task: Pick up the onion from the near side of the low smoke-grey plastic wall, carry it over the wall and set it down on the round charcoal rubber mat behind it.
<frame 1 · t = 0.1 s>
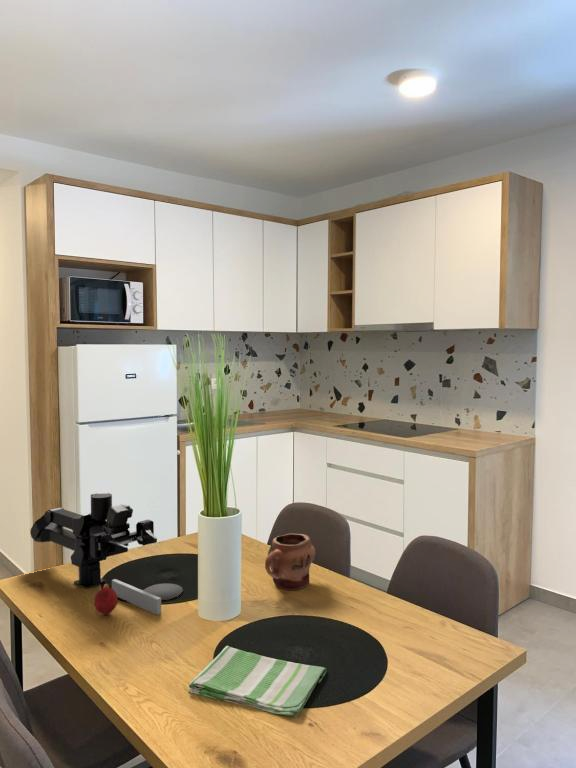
hand: (142, 545, 158), 17 cm above the table, tool horizontal, fingers open, 9 cm apart
dish towel: (258, 686, 123), on the table
brown clay mug: (288, 587, 173), on the table
onion: (106, 615, 154), on the table
rubber mat: (162, 592, 168), on the table
low wall: (135, 603, 161), on the table
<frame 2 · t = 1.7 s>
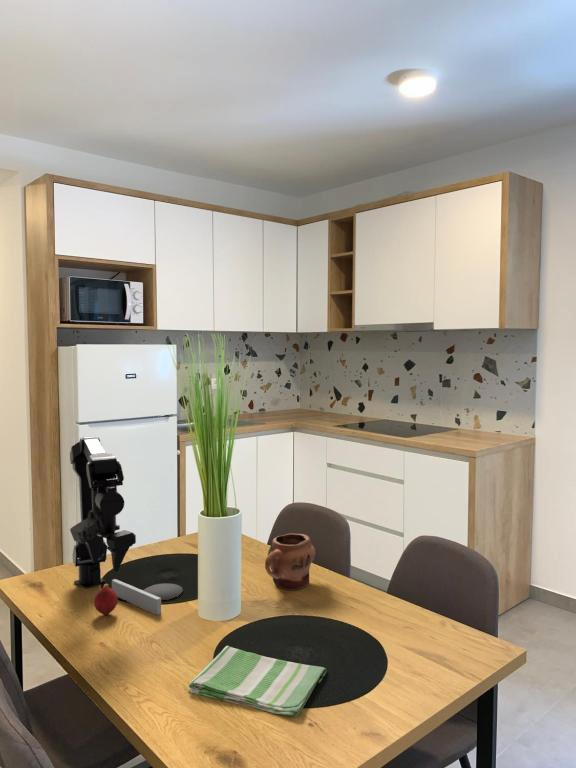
hand: (105, 566, 154), 12 cm above the table, tool pointing down, fingers open, 9 cm apart
nothing on the table moved.
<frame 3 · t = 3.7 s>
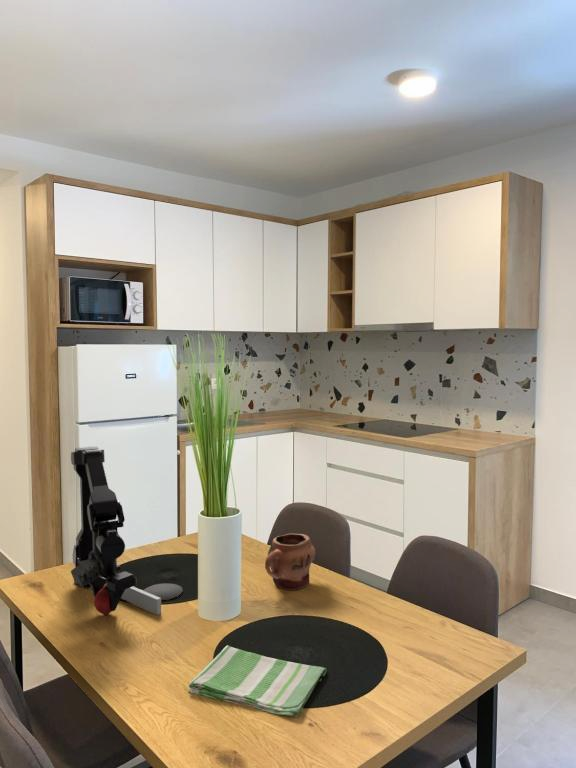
hand: (106, 607, 154), 2 cm above the table, tool pointing down, fingers closed on onion, 6 cm apart
onion: (106, 615, 154), on the table, touching gripper
everything else where it was.
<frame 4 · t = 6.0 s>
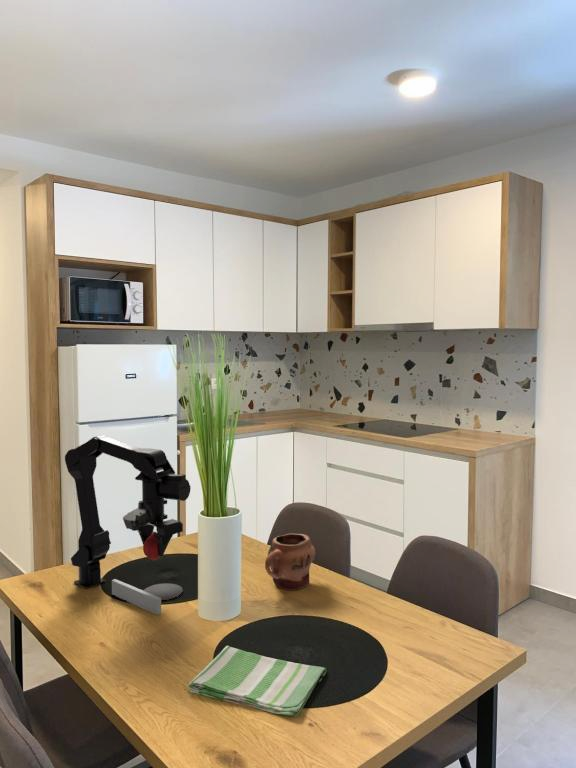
hand: (154, 553, 165), 12 cm above the table, tool pointing down, fingers closed on onion, 6 cm apart
onion: (154, 561, 165), point 10 cm above the table, touching gripper
everything else where it was.
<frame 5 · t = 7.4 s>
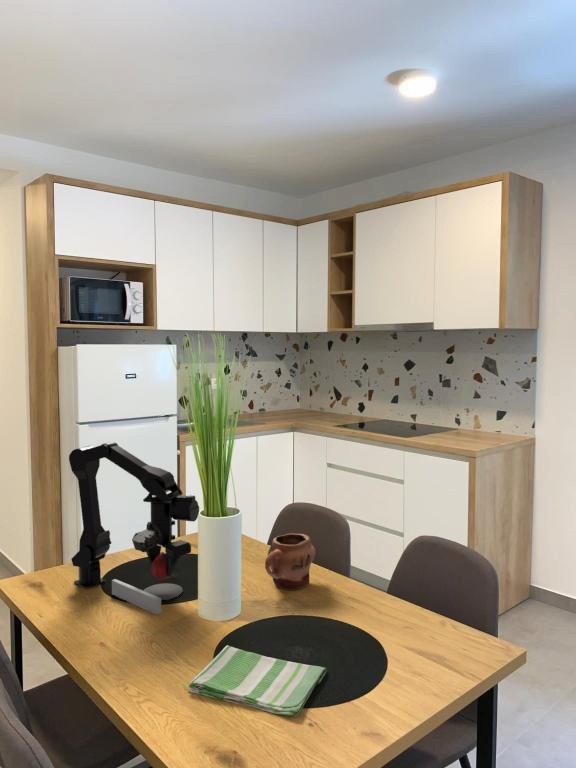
hand: (161, 573, 168), 6 cm above the table, tool pointing down, fingers closed on onion, 6 cm apart
onion: (162, 581, 168), point 3 cm above the table, touching gripper
everything else where it was.
when the fingers open (4 cm above the table, at t = 8.6 s): onion drops 1 cm, resting on rubber mat.
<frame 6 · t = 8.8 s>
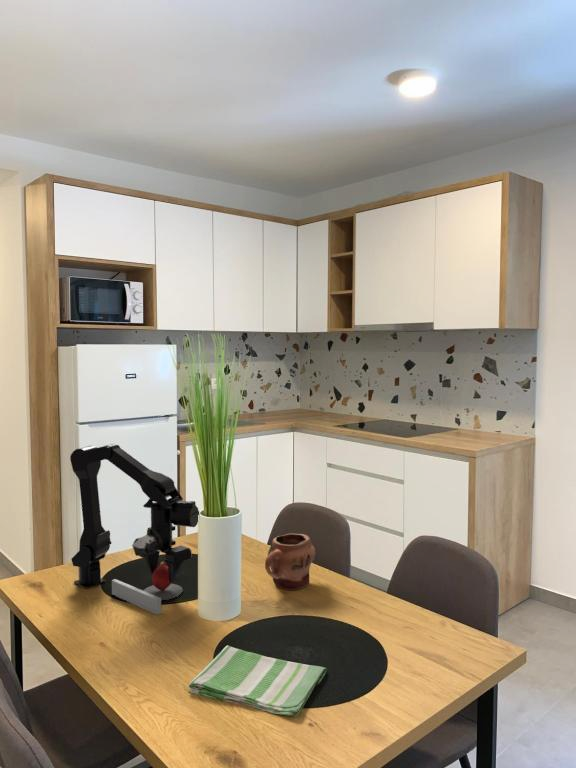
hand: (162, 578, 168), 4 cm above the table, tool pointing down, fingers open, 8 cm apart
onion: (162, 591, 168), resting on rubber mat
everything else where it was.
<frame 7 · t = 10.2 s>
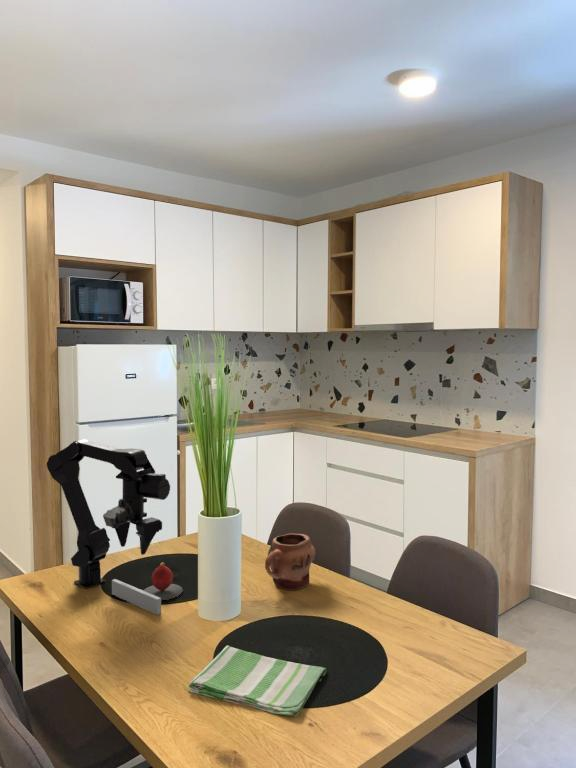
hand: (132, 550, 169), 12 cm above the table, tool pointing down, fingers open, 9 cm apart
nothing on the table moved.
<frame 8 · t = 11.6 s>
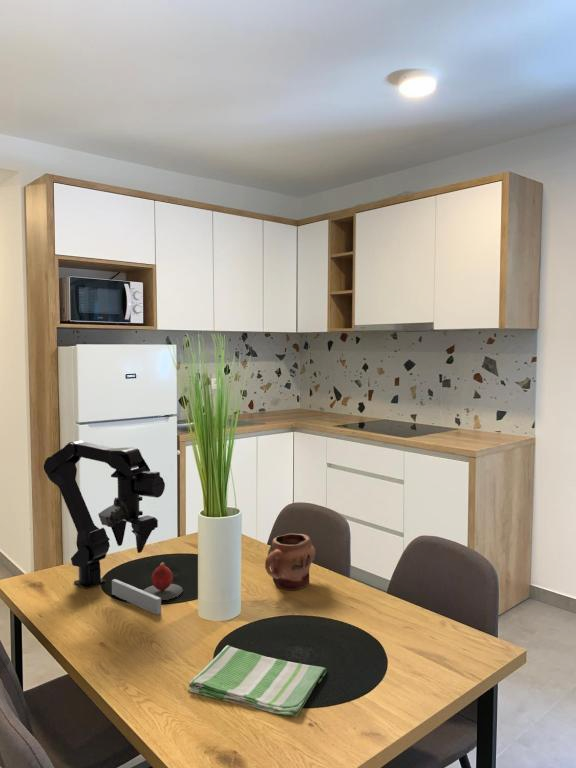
hand: (129, 549, 169), 12 cm above the table, tool pointing down, fingers open, 9 cm apart
nothing on the table moved.
at the end: onion 0.1 cm off-centre on the rubber mat, point 0.3 cm above the rubber mat's base; the gripper is holding nothing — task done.
